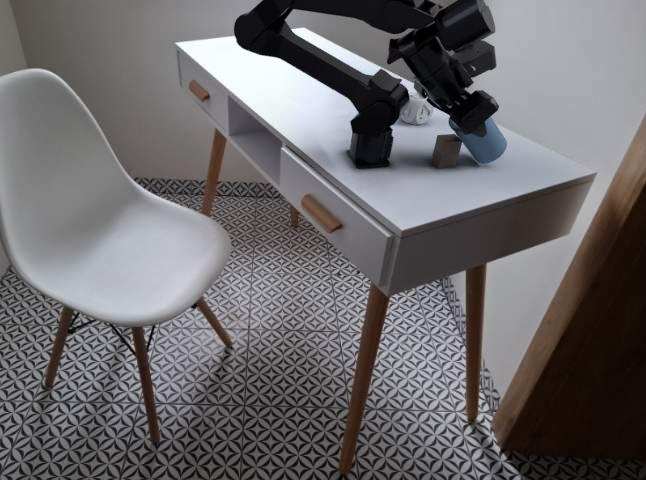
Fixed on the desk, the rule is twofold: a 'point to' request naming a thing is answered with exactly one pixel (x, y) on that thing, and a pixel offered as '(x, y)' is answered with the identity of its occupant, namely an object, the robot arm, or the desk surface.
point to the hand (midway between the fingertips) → (475, 127)
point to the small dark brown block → (446, 150)
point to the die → (417, 110)
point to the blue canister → (484, 142)
